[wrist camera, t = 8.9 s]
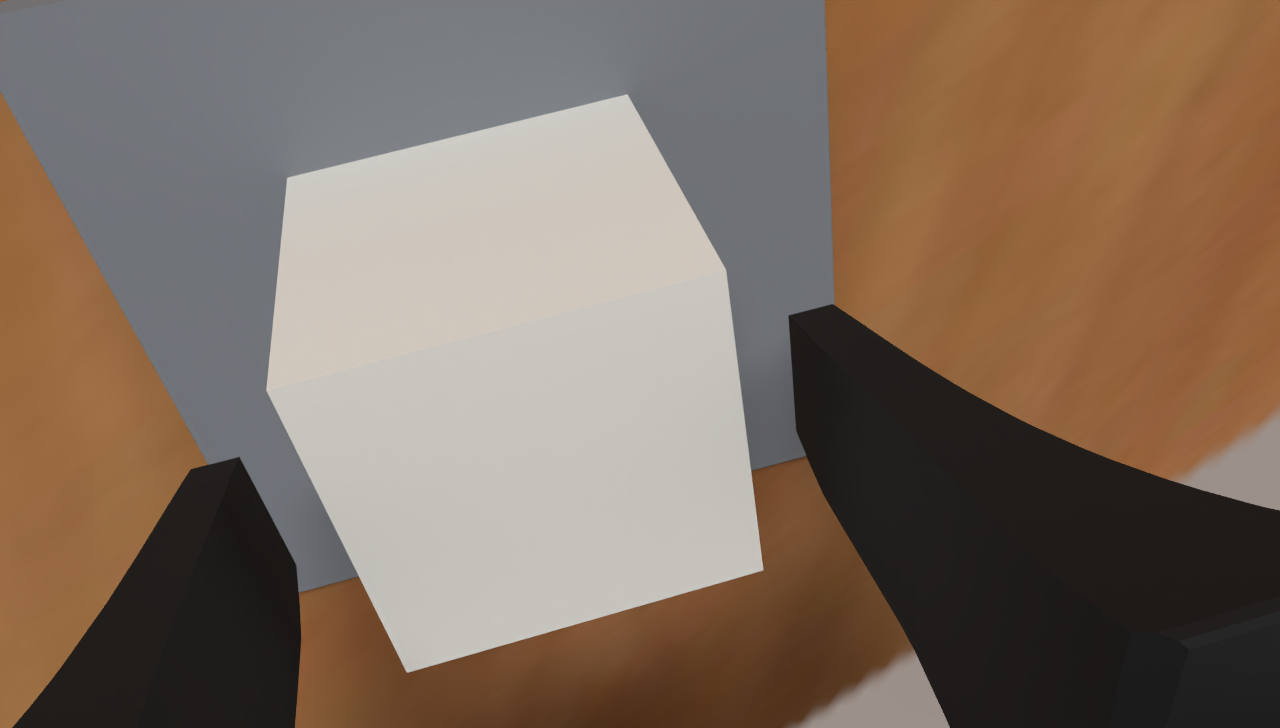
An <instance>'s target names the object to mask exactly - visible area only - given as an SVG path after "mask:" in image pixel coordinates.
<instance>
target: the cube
mask: <svg viewBox="0 0 1280 728" xmlns="http://www.w3.org/2000/svg"><path fill="white" fill-rule="evenodd" d="M266 391H267V393H268V395H269V397H270V399H271V401H272V403H273V405H274V407H275V409H276V411H277V413H278V415H279V417H280V419H281V421H282V423H283V425H284V427H285V429H286V431H287V433H288V435H289V437H290V439H291V441H292V443H293V445H294V447H295V449H296V451H297V453H298V455H299V457H300V459H301V461H302V463H303V465H304V467H305V469H306V471H307V473H308V475H309V477H310V479H311V481H312V483H313V485H314V487H315V489H316V491H317V493H318V495H319V497H320V499H321V501H322V503H323V505H324V507H325V509H326V511H327V513H328V515H329V517H330V519H331V521H332V523H333V525H334V527H335V529H336V531H337V533H338V535H339V537H340V539H341V541H342V543H343V545H344V547H345V549H346V551H347V553H348V555H349V557H350V559H351V561H352V563H353V565H354V567H355V569H356V571H357V573H358V575H359V577H360V579H361V581H362V584H363V586H364V588H365V590H366V592H367V594H368V596H369V598H370V600H371V602H372V604H373V606H374V608H375V610H376V612H377V614H378V616H379V618H380V620H381V622H382V624H383V626H384V628H385V630H386V632H387V634H388V636H389V638H390V640H391V642H392V644H393V646H394V648H395V650H396V652H397V654H398V656H399V658H400V660H401V662H402V664H403V666H404V668H405V670H406V672H407V673H408V672H412V671H415V670H419V669H422V668H426V667H429V666H432V665H436V664H439V663H443V662H446V661H450V660H453V659H457V658H460V657H464V656H467V655H471V654H474V653H478V652H481V651H485V650H488V649H492V648H495V647H499V646H502V645H506V644H509V643H512V642H516V641H519V640H523V639H526V638H530V637H533V636H537V635H540V634H544V633H547V632H551V631H554V630H558V629H561V628H565V627H568V626H572V625H575V624H579V623H582V622H586V621H589V620H593V619H596V618H599V617H603V616H606V615H610V614H613V613H617V612H620V611H624V610H627V609H631V608H634V607H638V606H641V605H645V604H648V603H652V602H655V601H659V600H662V599H666V598H669V597H673V596H676V595H679V594H683V593H686V592H690V591H693V590H697V589H700V588H704V587H707V586H711V585H714V584H718V583H721V582H725V581H728V580H732V579H735V578H739V577H742V576H746V575H749V574H753V573H756V572H760V571H763V563H762V555H761V547H760V539H759V531H758V523H757V515H756V507H755V499H754V491H753V483H752V474H751V466H750V458H749V450H748V442H747V434H746V426H745V418H744V410H743V402H742V394H741V386H740V378H739V370H738V361H737V353H736V345H735V337H734V329H733V321H732V313H731V305H730V297H729V289H728V281H727V273H726V269H725V267H724V265H723V263H722V262H721V260H720V258H719V256H718V255H717V253H716V251H715V249H714V247H713V246H712V244H711V242H710V240H709V239H708V237H707V235H706V233H705V231H704V230H703V228H702V226H701V224H700V222H699V221H698V219H697V217H696V215H695V214H694V212H693V210H692V208H691V206H690V205H689V203H688V201H687V199H686V198H685V196H684V194H683V192H682V190H681V189H680V187H679V185H678V183H677V182H676V180H675V178H674V176H673V174H672V173H671V171H670V169H669V167H668V166H667V164H666V162H665V160H664V158H663V157H662V155H661V153H660V151H659V150H658V148H657V146H656V144H655V142H654V141H653V139H652V137H651V135H650V133H649V132H648V130H647V128H646V126H645V125H644V123H643V121H642V119H641V117H640V116H639V114H638V112H637V110H636V109H635V107H634V105H633V103H632V101H631V100H630V98H629V96H628V94H627V95H623V96H618V97H614V98H610V99H606V100H602V101H598V102H594V103H590V104H586V105H582V106H578V107H574V108H570V109H565V110H561V111H557V112H553V113H549V114H545V115H541V116H537V117H533V118H529V119H525V120H521V121H517V122H512V123H508V124H504V125H500V126H496V127H492V128H488V129H484V130H480V131H476V132H472V133H468V134H464V135H459V136H455V137H451V138H447V139H443V140H439V141H435V142H431V143H427V144H423V145H419V146H415V147H410V148H406V149H402V150H398V151H394V152H390V153H386V154H382V155H378V156H374V157H370V158H366V159H362V160H357V161H353V162H349V163H345V164H341V165H337V166H333V167H329V168H325V169H321V170H317V171H313V172H309V173H304V174H300V175H296V176H292V177H288V178H287V185H286V195H285V205H284V215H283V225H282V236H281V246H280V256H279V266H278V276H277V286H276V297H275V307H274V317H273V327H272V337H271V347H270V358H269V368H268V378H267V388H266Z"/></svg>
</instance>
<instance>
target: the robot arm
mask: <svg viewBox="0 0 1280 728" xmlns="http://www.w3.org/2000/svg"><path fill="white" fill-rule="evenodd" d="M788 318H789V332H790V347H791V362H792V377H793V392H794V406H795V421H796V432H797V434H798V437H799V439H800V441H801V444H802V446H803V448H804V451H805V453H806V456H807V458H808V460H809V463H810V465H811V468H812V470H813V472H814V474H815V477H816V479H817V481H818V483H819V486H820V488H821V490H822V492H823V494H824V496H825V498H826V500H827V501H828V503H829V505H830V506H831V508H832V510H833V512H834V513H835V515H836V517H837V518H838V520H839V522H840V523H841V525H842V527H843V529H844V530H845V532H846V534H847V535H848V537H849V539H850V540H851V542H852V544H853V545H854V547H855V549H856V550H857V552H858V554H859V555H860V557H861V559H862V560H863V562H864V564H865V565H866V567H867V569H868V570H869V572H870V574H871V575H872V577H873V579H874V580H875V582H876V584H877V586H878V587H879V589H880V591H881V592H882V594H883V596H884V597H885V599H886V601H887V602H888V604H889V606H890V607H891V609H892V611H893V612H894V614H895V616H896V617H897V619H898V621H899V622H900V624H901V626H902V628H903V630H904V632H905V633H906V635H907V637H908V639H909V641H910V643H911V645H912V646H913V648H914V650H915V652H916V654H917V656H918V659H919V661H920V663H921V665H922V667H923V669H924V672H925V674H926V676H927V678H928V680H929V682H930V685H931V687H932V689H933V691H934V693H935V695H936V697H937V699H938V702H939V704H940V706H941V708H942V710H943V713H944V715H945V717H946V719H947V721H948V724H949V726H950V728H1280V511H1279V510H1275V509H1270V508H1266V507H1261V506H1258V505H1254V504H1250V503H1246V502H1242V501H1239V500H1235V499H1232V498H1228V497H1224V496H1221V495H1217V494H1214V493H1210V492H1206V491H1202V490H1199V489H1196V488H1192V487H1190V486H1186V485H1183V484H1180V483H1177V482H1174V481H1170V480H1167V479H1164V478H1161V477H1158V476H1155V475H1153V474H1150V473H1147V472H1144V471H1141V470H1139V469H1136V468H1133V467H1130V466H1127V465H1125V464H1122V463H1119V462H1116V461H1113V460H1111V459H1108V458H1106V457H1103V456H1101V455H1098V454H1096V453H1093V452H1090V451H1088V450H1086V449H1083V448H1081V447H1079V446H1076V445H1074V444H1072V443H1070V442H1067V441H1065V440H1063V439H1061V438H1058V437H1056V436H1054V435H1052V434H1049V433H1047V432H1045V431H1043V430H1040V429H1038V428H1036V427H1034V426H1032V425H1030V424H1028V423H1026V422H1024V421H1022V420H1020V419H1017V418H1016V417H1014V416H1012V415H1010V414H1008V413H1006V412H1004V411H1002V410H1000V409H999V408H997V407H995V406H993V405H991V404H989V403H987V402H986V401H984V400H982V399H980V398H978V397H976V396H974V395H973V394H971V393H969V392H967V391H966V390H964V389H962V388H961V387H959V386H957V385H955V384H954V383H952V382H950V381H949V380H947V379H946V378H944V377H942V376H941V375H939V374H938V373H936V372H934V371H933V370H931V369H929V368H928V367H926V366H925V365H923V364H921V363H920V362H918V361H917V360H915V359H914V358H912V357H911V356H909V355H908V354H906V353H905V352H903V351H902V350H900V349H899V348H897V347H896V346H894V345H893V344H891V343H890V342H888V341H887V340H885V339H884V338H882V337H881V336H879V335H878V334H876V333H875V332H873V331H872V330H870V329H869V328H867V327H866V326H865V325H863V324H862V323H860V322H859V321H857V320H856V319H854V318H853V317H851V316H850V315H848V314H847V313H845V312H844V311H842V310H841V309H839V308H838V307H836V306H835V305H833V304H831V305H827V306H823V307H819V308H815V309H811V310H807V311H803V312H800V313H796V314H792V315H788ZM300 648H301V624H300V604H299V591H298V578H297V565H296V563H295V561H294V559H293V558H292V556H291V554H290V552H289V550H288V548H287V546H286V544H285V542H284V540H283V539H282V537H281V535H280V533H279V531H278V529H277V527H276V525H275V523H274V521H273V520H272V518H271V516H270V514H269V512H268V510H267V508H266V506H265V504H264V502H263V501H262V499H261V497H260V495H259V493H258V491H257V489H256V487H255V485H254V483H253V482H252V480H251V478H250V476H249V474H248V472H247V470H246V468H245V466H244V464H243V463H242V461H241V459H240V457H237V458H233V459H229V460H225V461H221V462H218V463H214V464H210V465H206V466H202V467H198V468H194V469H191V470H190V471H189V473H188V475H187V476H186V478H185V479H184V481H183V482H182V484H181V485H180V487H179V489H178V490H177V492H176V493H175V495H174V497H173V498H172V500H171V501H170V503H169V505H168V506H167V508H166V510H165V511H164V513H163V514H162V516H161V518H160V519H159V521H158V523H157V524H156V526H155V528H154V529H153V531H152V532H151V534H150V536H149V537H148V539H147V541H146V542H145V544H144V545H143V547H142V549H141V550H140V552H139V554H138V555H137V557H136V558H135V560H134V562H133V563H132V565H131V566H130V568H129V569H128V571H127V572H126V574H125V575H124V577H123V579H122V580H121V582H120V583H119V585H118V586H117V588H116V589H115V591H114V593H113V594H112V596H111V597H110V599H109V600H108V602H107V603H106V605H105V606H104V608H103V609H102V611H101V612H100V613H99V615H98V616H97V618H96V619H95V620H94V622H93V623H92V625H91V626H90V628H89V629H88V630H87V632H86V633H85V635H84V636H83V637H82V639H81V640H80V642H79V643H78V644H77V646H76V647H75V649H74V650H73V651H72V653H71V654H70V656H69V657H68V659H67V660H66V661H65V663H64V664H63V666H62V667H61V668H60V670H59V671H58V672H57V673H56V675H55V676H54V677H53V679H52V680H51V681H50V683H49V684H48V685H47V686H46V688H45V689H44V690H43V691H42V693H41V694H40V695H39V696H38V698H37V699H36V700H35V701H34V703H33V704H32V705H31V706H30V708H29V709H28V710H27V711H26V712H25V713H24V715H23V716H22V717H21V718H20V719H19V721H18V722H17V723H16V724H15V725H14V726H13V728H295V717H296V704H297V691H298V677H299V663H300Z"/></svg>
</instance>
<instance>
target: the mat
mask: <svg viewBox="0 0 1280 728" xmlns="http://www.w3.org/2000/svg"><path fill="white" fill-rule="evenodd" d="M0 92H1V93H2V95H3V97H4V99H5V101H6V102H7V104H8V106H9V108H10V110H11V111H12V113H13V115H14V117H15V119H16V120H17V122H18V124H19V126H20V127H21V129H22V131H23V133H24V135H25V136H26V138H27V140H28V142H29V144H30V145H31V147H32V149H33V151H34V153H35V154H36V156H37V158H38V160H39V162H40V163H41V165H42V167H43V169H44V171H45V172H46V174H47V176H48V178H49V180H50V181H51V183H52V185H53V187H54V189H55V190H56V192H57V194H58V196H59V197H60V199H61V201H62V203H63V205H64V206H65V208H66V210H67V212H68V214H69V215H70V217H71V219H72V221H73V223H74V224H75V226H76V228H77V230H78V232H79V233H80V235H81V237H82V239H83V241H84V242H85V244H86V246H87V248H88V250H89V251H90V253H91V255H92V257H93V258H94V260H95V262H96V264H97V266H98V267H99V269H100V271H101V273H102V275H103V276H104V278H105V280H106V282H107V284H108V285H109V287H110V289H111V291H112V293H113V294H114V296H115V298H116V300H117V302H118V303H119V305H120V307H121V309H122V311H123V312H124V314H125V316H126V318H127V320H128V321H129V323H130V325H131V327H132V328H133V330H134V332H135V334H136V336H137V337H138V339H139V341H140V343H141V345H142V346H143V348H144V350H145V352H146V354H147V355H148V357H149V359H150V361H151V363H152V364H153V366H154V368H155V370H156V372H157V373H158V375H159V377H160V379H161V381H162V382H163V384H164V386H165V388H166V389H167V391H168V393H169V395H170V397H171V398H172V400H173V402H174V404H175V406H176V407H177V409H178V411H179V413H180V415H181V416H182V418H183V420H184V422H185V424H186V425H187V427H188V429H189V431H190V433H191V434H192V436H193V438H194V440H195V442H196V443H197V445H198V447H199V449H200V451H201V452H202V454H203V456H204V458H205V459H206V461H207V463H208V465H210V464H214V463H218V462H221V461H225V460H229V459H233V458H237V457H240V459H241V461H242V463H243V464H244V466H245V468H246V470H247V472H248V474H249V476H250V478H251V480H252V482H253V483H254V485H255V487H256V489H257V491H258V493H259V495H260V497H261V499H262V501H263V502H264V504H265V506H266V508H267V510H268V512H269V514H270V516H271V518H272V520H273V521H274V523H275V525H276V527H277V529H278V531H279V533H280V535H281V537H282V539H283V540H284V542H285V544H286V546H287V548H288V550H289V552H290V554H291V556H292V558H293V559H294V561H295V563H296V565H297V578H298V591H299V592H303V591H306V590H310V589H314V588H318V587H321V586H325V585H329V584H332V583H336V582H340V581H344V580H347V579H351V578H355V577H358V576H359V575H358V573H357V571H356V569H355V567H354V565H353V563H352V561H351V559H350V557H349V555H348V553H347V551H346V549H345V547H344V545H343V543H342V541H341V539H340V537H339V535H338V533H337V531H336V529H335V527H334V525H333V523H332V521H331V519H330V517H329V515H328V513H327V511H326V509H325V507H324V505H323V503H322V501H321V499H320V497H319V495H318V493H317V491H316V489H315V487H314V485H313V483H312V481H311V479H310V477H309V475H308V473H307V471H306V469H305V467H304V465H303V463H302V461H301V459H300V457H299V455H298V453H297V451H296V449H295V447H294V445H293V443H292V441H291V439H290V437H289V435H288V433H287V431H286V429H285V427H284V425H283V423H282V421H281V419H280V417H279V415H278V413H277V411H276V409H275V407H274V405H273V403H272V401H271V399H270V397H269V395H268V393H267V391H266V388H267V378H268V368H269V358H270V347H271V337H272V327H273V317H274V307H275V297H276V286H277V276H278V266H279V256H280V246H281V236H282V225H283V215H284V205H285V195H286V185H287V178H288V177H292V176H296V175H300V174H304V173H309V172H313V171H317V170H321V169H325V168H329V167H333V166H337V165H341V164H345V163H349V162H353V161H357V160H362V159H366V158H370V157H374V156H378V155H382V154H386V153H390V152H394V151H398V150H402V149H406V148H410V147H415V146H419V145H423V144H427V143H431V142H435V141H439V140H443V139H447V138H451V137H455V136H459V135H464V134H468V133H472V132H476V131H480V130H484V129H488V128H492V127H496V126H500V125H504V124H508V123H512V122H517V121H521V120H525V119H529V118H533V117H537V116H541V115H545V114H549V113H553V112H557V111H561V110H565V109H570V108H574V107H578V106H582V105H586V104H590V103H594V102H598V101H602V100H606V99H610V98H614V97H618V96H623V95H627V94H628V96H629V98H630V100H631V101H632V103H633V105H634V107H635V109H636V110H637V112H638V114H639V116H640V117H641V119H642V121H643V123H644V125H645V126H646V128H647V130H648V132H649V133H650V135H651V137H652V139H653V141H654V142H655V144H656V146H657V148H658V150H659V151H660V153H661V155H662V157H663V158H664V160H665V162H666V164H667V166H668V167H669V169H670V171H671V173H672V174H673V176H674V178H675V180H676V182H677V183H678V185H679V187H680V189H681V190H682V192H683V194H684V196H685V198H686V199H687V201H688V203H689V205H690V206H691V208H692V210H693V212H694V214H695V215H696V217H697V219H698V221H699V222H700V224H701V226H702V228H703V230H704V231H705V233H706V235H707V237H708V239H709V240H710V242H711V244H712V246H713V247H714V249H715V251H716V253H717V255H718V256H719V258H720V260H721V262H722V263H723V265H724V267H725V269H726V273H727V281H728V289H729V297H730V305H731V313H732V321H733V329H734V337H735V345H736V353H737V361H738V370H739V378H740V386H741V394H742V402H743V410H744V418H745V426H746V434H747V442H748V450H749V458H750V466H751V471H752V470H756V469H760V468H763V467H767V466H771V465H774V464H778V463H782V462H786V461H789V460H793V459H797V458H800V457H804V456H806V453H805V451H804V448H803V446H802V444H801V441H800V439H799V437H798V434H797V432H796V421H795V406H794V392H793V377H792V362H791V347H790V332H789V318H788V315H792V314H796V313H800V312H803V311H807V310H811V309H815V308H819V307H823V306H827V305H831V304H833V305H834V277H833V246H832V215H831V184H830V153H829V122H828V91H827V60H826V29H825V0H8V1H3V2H0Z"/></svg>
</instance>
